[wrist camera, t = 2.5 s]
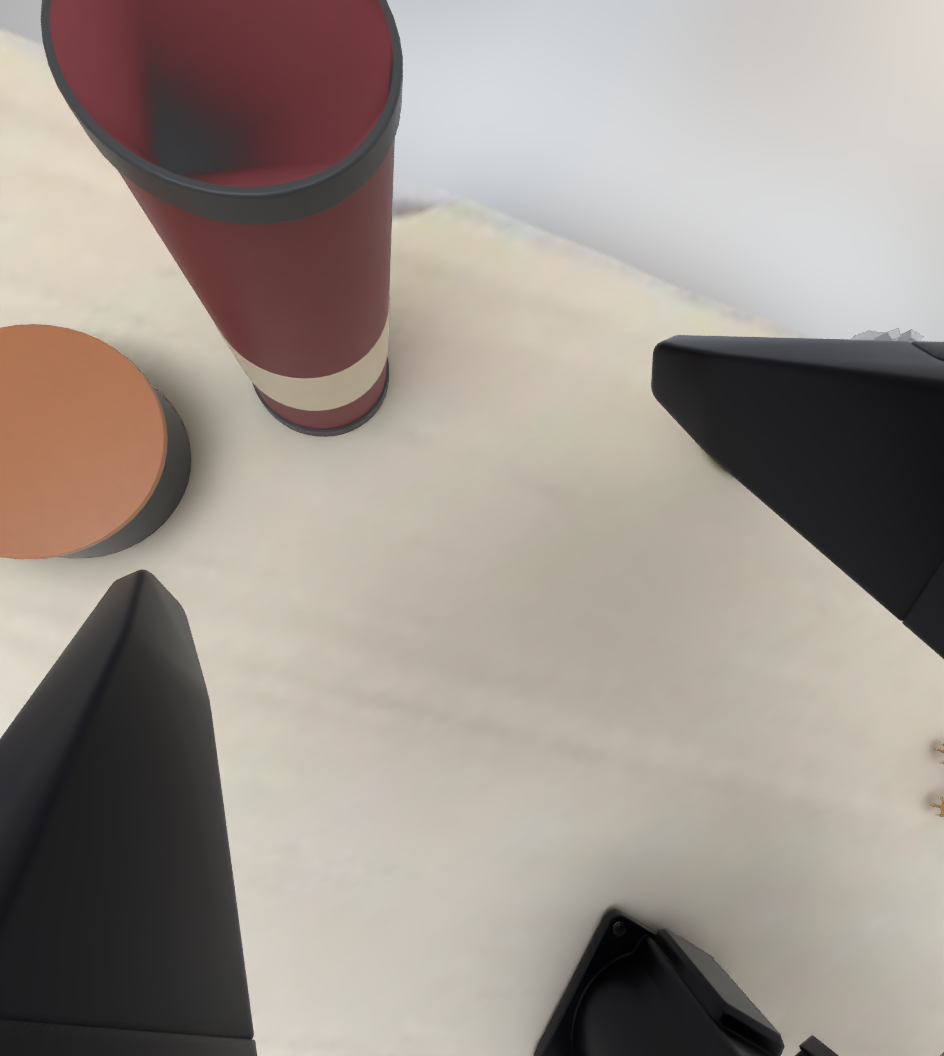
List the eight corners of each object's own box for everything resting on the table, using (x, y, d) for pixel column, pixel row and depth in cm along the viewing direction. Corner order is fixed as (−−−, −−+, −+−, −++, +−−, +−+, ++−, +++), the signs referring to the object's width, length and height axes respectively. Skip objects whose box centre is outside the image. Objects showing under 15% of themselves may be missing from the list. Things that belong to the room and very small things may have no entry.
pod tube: (340, 462, 21) (276, 263, 8) (225, 385, 21) (-47, 40, 8) (413, 360, 22) (463, 33, 9) (305, 285, 22) (189, -178, 9)
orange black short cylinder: (109, 602, 19) (61, 605, 16) (-83, 486, 19) (-170, 468, 16) (236, 437, 21) (213, 413, 18) (62, 322, 20) (8, 278, 17)
